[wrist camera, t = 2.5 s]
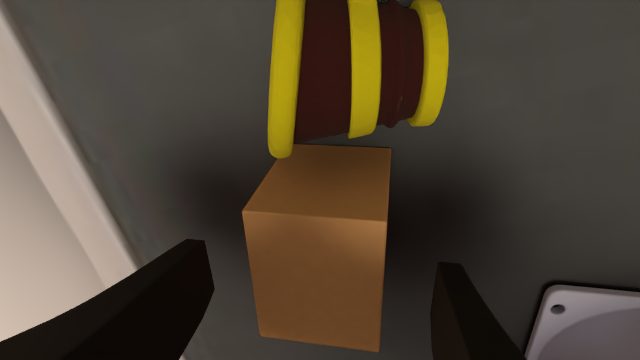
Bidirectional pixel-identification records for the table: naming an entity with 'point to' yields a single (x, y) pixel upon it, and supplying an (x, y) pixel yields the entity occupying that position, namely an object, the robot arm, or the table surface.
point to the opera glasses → (353, 68)
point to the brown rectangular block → (321, 245)
